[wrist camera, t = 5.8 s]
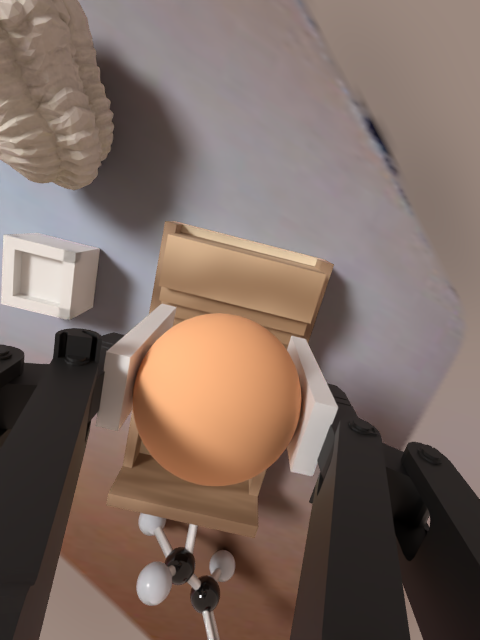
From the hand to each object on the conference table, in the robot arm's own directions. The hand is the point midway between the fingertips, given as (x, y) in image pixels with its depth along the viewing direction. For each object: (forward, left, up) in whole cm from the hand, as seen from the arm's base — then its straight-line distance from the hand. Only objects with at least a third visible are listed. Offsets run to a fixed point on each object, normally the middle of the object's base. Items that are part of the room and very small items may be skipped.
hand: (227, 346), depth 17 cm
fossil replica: (-11, -15, -11) cm, 22 cm away
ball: (0, 0, +5) cm, 5 cm away
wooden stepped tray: (+6, 0, -11) cm, 13 cm away
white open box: (+1, -14, -11) cm, 18 cm away
